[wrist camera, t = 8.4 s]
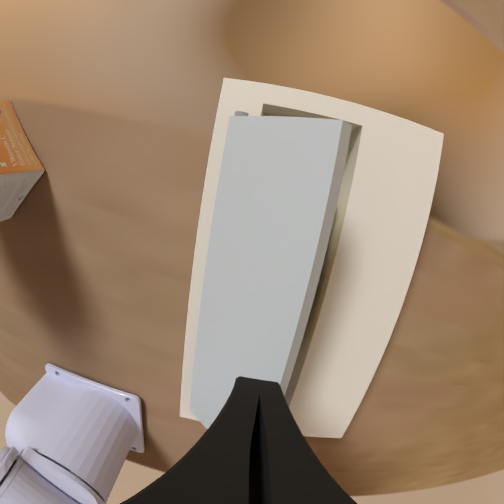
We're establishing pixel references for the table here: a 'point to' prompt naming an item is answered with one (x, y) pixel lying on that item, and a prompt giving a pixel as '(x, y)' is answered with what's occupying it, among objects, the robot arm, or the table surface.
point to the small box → (15, 162)
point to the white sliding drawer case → (337, 248)
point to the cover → (265, 250)
